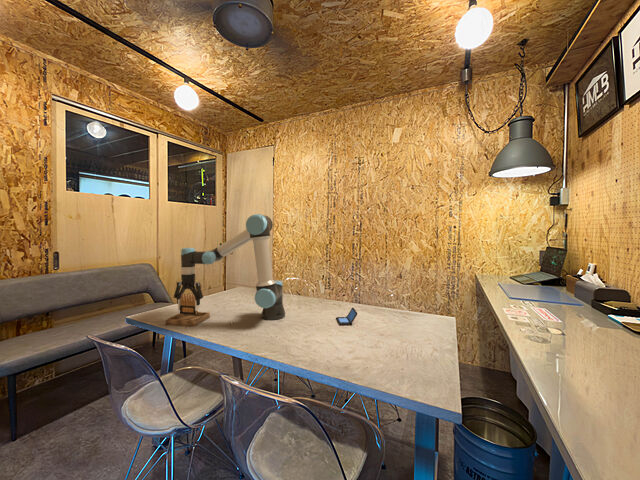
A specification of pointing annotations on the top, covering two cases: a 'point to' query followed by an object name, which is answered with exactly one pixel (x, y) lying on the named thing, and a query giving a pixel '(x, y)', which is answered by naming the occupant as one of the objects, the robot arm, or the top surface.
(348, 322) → the handheld game console
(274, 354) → the top surface
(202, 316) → the tray
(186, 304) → the ammunition clip
